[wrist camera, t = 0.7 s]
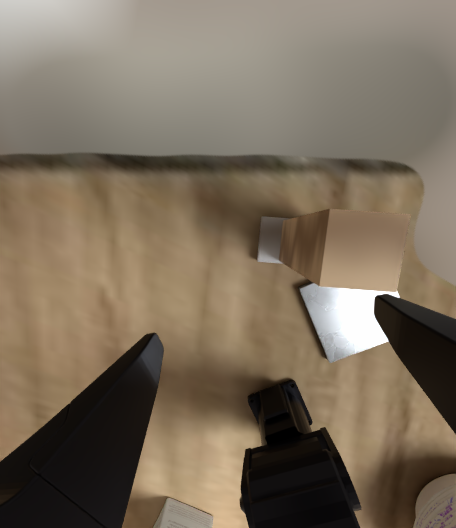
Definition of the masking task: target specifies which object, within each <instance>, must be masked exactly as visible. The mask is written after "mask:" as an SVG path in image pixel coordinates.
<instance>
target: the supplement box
mask: <svg viewBox="0 0 456 528" xmlns="http://www.w3.org/2000/svg"><path fill="white" fill-rule="evenodd" d="M212 526H213V516H211V515H209V514H207V513H205V512H202V511H200V510H198V509H196V508H193V507H191V506H189V505H186V504H184V503H181V502H179V501H177V500H174V499H172V498H167V500H166V502H165V504H164V507H163V509H162V511H161V513H160V515H159V517H158V519H157V521H156V523H155V525H154V527H153V528H212Z"/></svg>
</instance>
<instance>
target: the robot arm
mask: <svg viewBox="0 0 456 528" xmlns="http://www.w3.org/2000/svg"><path fill="white" fill-rule="evenodd" d="M374 317H375V319H376V320H377V322H378V324H379V326H380V327H381V329H382V331H383V332H384V334H385V336H386V337H387V339H388V341H389V343H390V344H391V346H392V348H393V349H394V351H395V352H396V354H397V355H398V357H399V358H400V360H401V361H402V362H403V364H404V365H405V366H406V368H407V369H408V371H409V372H410V373H411V375H412V376H413V377H414V379H415V380H416V381H417V383H418V384H419V385H420V387H421V388H422V389H423V391H424V392H425V393H426V395H427V396H428V398H429V399H430V400H431V402H432V403H433V404H434V406H435V407H436V408H437V410H438V411H439V412H440V414H441V415H442V416H443V418H444V419H445V420H446V422H447V423H448V425H449V426H450V427H451V429H452V430H453V431H454V433H455V434H456V319H454V318H452V317H449V316H446V315H444V314H441V313H438V312H435V311H433V310H430V309H427V308H425V307H422V306H419V305H417V304H414V303H411V302H409V301H406V300H403V299H401V298H398V297H395V296H393V295H390V294H381V295H377V296H375V298H374ZM163 353H164V348H163V345H162V343H161V341H160V339H159V337H158V335H157V334H156V333H149V334H146V335H145V336H144V337H143V338H141V339H140V340H139V341H138V342H137V343H136V344H135V345H134V346H133V347H131V348H130V349H129V350H128V351H127V352H126V353H125V354H124V355H122V356H121V357H120V358H119V359H118V360H117V361H116V362H115V363H114V364H112V365H111V366H110V367H109V368H108V369H107V370H106V371H105V372H104V373H102V374H101V375H100V376H99V377H98V378H97V379H96V380H95V381H93V382H92V383H91V384H90V385H89V386H88V387H87V388H86V389H85V390H83V391H82V392H81V393H80V394H79V395H78V396H77V397H76V398H75V399H73V400H72V401H71V403H70V404H68V405H67V406H66V407H64V408H63V409H62V410H61V411H60V412H59V413H58V414H57V415H56V416H54V417H53V418H52V419H51V420H50V421H49V422H48V423H46V424H45V425H44V426H43V427H42V428H41V429H39V430H38V431H37V432H36V433H35V434H33V435H32V436H31V437H30V438H29V439H27V440H26V441H25V442H24V443H22V444H21V445H20V446H19V447H18V448H16V449H15V450H14V451H13V452H12V453H10V454H9V455H8V456H7V457H5V458H4V459H3V460H2V461H1V462H0V528H122V524H123V521H124V517H125V513H126V509H127V505H128V501H129V497H130V494H131V490H132V486H133V482H134V478H135V474H136V470H137V467H138V463H139V459H140V455H141V451H142V447H143V443H144V439H145V436H146V432H147V428H148V424H149V420H150V416H151V412H152V409H153V405H154V401H155V397H156V393H157V389H158V384H159V379H160V372H161V366H162V359H163ZM291 384H293V385H291ZM250 399H253V400H250ZM248 403H249V405H250V407H251V410H252V412H253V414H254V416H255V418H256V420H257V422H258V424H259V427H260V435H261V443H262V446H260V447H256V448H253V449H251V448H248V449H245V457H244V462H243V471H242V480H241V494H242V495H241V498H240V507H241V510H242V511H243V512H244V513H245V514H246V518H247V522H248V525H249V528H360V526H359V523H358V521H357V518H356V516H355V513H354V511H357V510H361V505H360V502H359V499H358V496H357V494H356V491H355V489H354V486H353V484H352V481H351V479H350V476H349V474H348V472H347V469H346V467H345V465H344V463H343V460H342V458H341V456H340V454H339V452H338V450H337V448H336V447H335V445H334V443H333V441H332V439H331V437H330V435H329V433H328V432H327V430H326V428H325V427H324V428H320V430H318V431H314V432H312V430H311V428H310V425H311V424H312V419H311V417H310V414H309V412H308V410H307V408H306V405H305V403H304V401H303V398H302V396H301V394H300V391H299V389H298V387H297V385H296V382H295V381H294V380H289V381H287V382H284V383H281V384H279V385H276V386H273V387H270V388H268V389H265V390H262V391H260V392H257V393H255V394H252V395H249V396H248ZM308 420H309V421H308Z"/></svg>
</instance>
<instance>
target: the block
mask: <svg viewBox="0 0 456 528" xmlns="http://www.w3.org/2000/svg"><path fill="white" fill-rule="evenodd" d="M410 218H411V214H398V213H383V212H369V211H354V210H340V209H327V210H323V211H319V212H315V213H311V214H307V215H303V216H300V217H296V218H278V217H264V216H262V217H261V223H260V234H259V245H258V256H257V261H258V262H270V263H283V264H285V265H287V266H288V267H290V268H291V269H293V270H294V271H296V272H298V273H299V274H301V275H302V276H304V277H305V278H307V279H308V280H310V281H312V282H313V283H315V284H316V285H318V286H319V287H332V288H345V289H358V290H371V291H384V292H397V287H398V282H399V276H400V271H401V266H402V260H403V255H404V250H405V244H406V239H407V234H408V228H409V223H410Z"/></svg>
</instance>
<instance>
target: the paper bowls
mask: <svg viewBox="0 0 456 528" xmlns="http://www.w3.org/2000/svg"><path fill="white" fill-rule="evenodd" d="M415 513H416V520H415V522H414V526H413V528H456V474H448V475H444V476H441V477H439V478H436V479H434V480H433V481H431V482H430V483H428V484H427V485H426V486H425V487H424V488H423V489H422V490H421V492H420V494H419V496H418V498H417V501H416V506H415Z"/></svg>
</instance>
